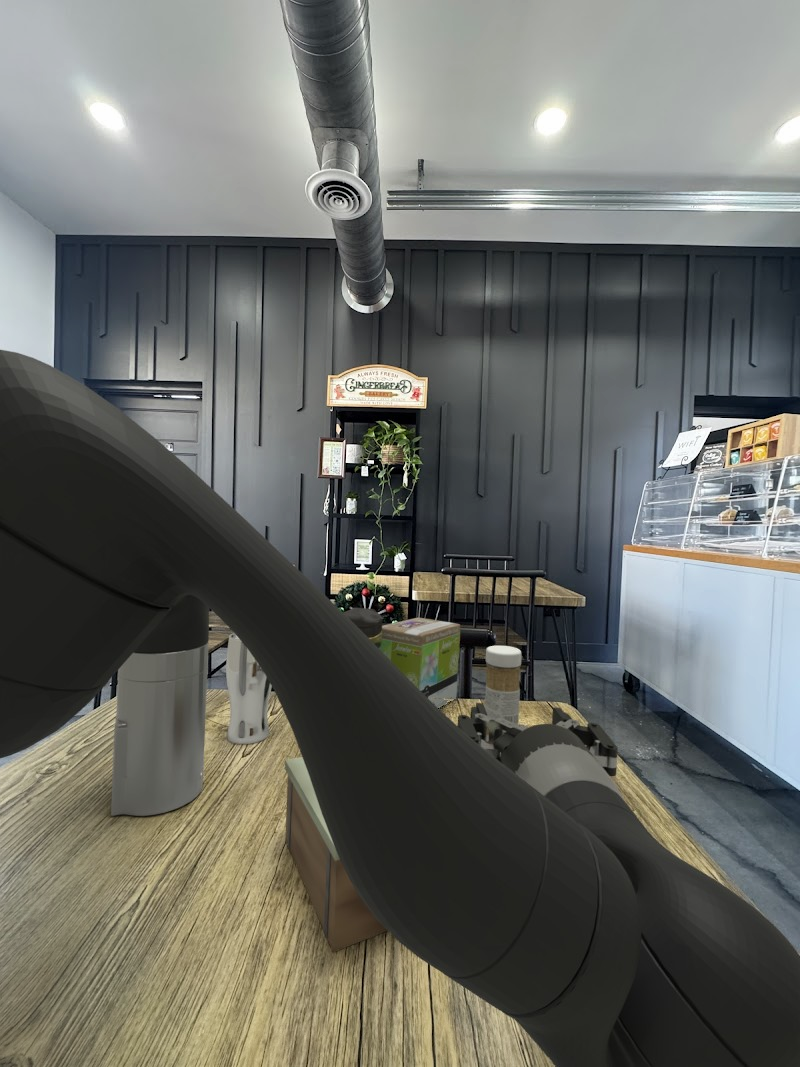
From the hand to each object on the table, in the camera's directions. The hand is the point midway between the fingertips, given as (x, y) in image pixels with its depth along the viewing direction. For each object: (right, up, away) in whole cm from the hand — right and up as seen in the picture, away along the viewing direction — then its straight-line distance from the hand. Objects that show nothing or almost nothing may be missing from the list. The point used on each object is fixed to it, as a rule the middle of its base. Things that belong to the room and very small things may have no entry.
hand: (517, 713), depth 53 cm
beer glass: (-36, -10, +18) cm, 41 cm away
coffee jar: (-21, -11, +24) cm, 33 cm away
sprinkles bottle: (0, -9, +9) cm, 13 cm away
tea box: (-10, -11, +34) cm, 37 cm away
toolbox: (-18, -11, -10) cm, 23 cm away
